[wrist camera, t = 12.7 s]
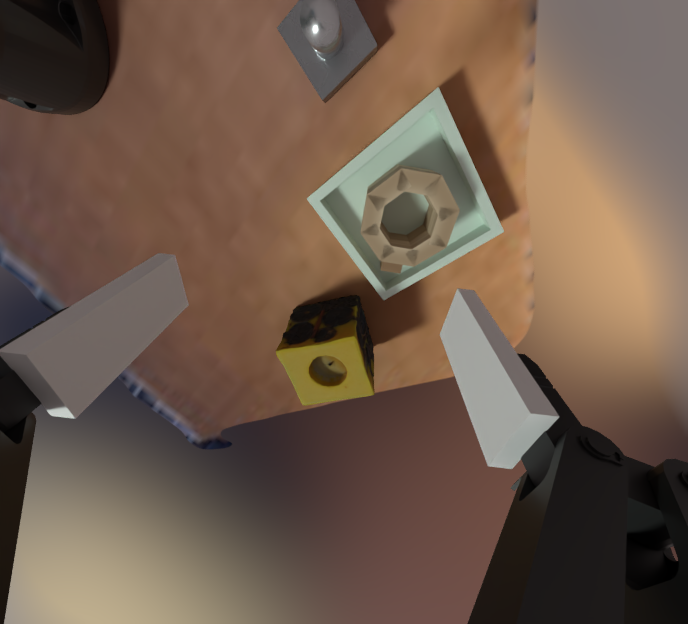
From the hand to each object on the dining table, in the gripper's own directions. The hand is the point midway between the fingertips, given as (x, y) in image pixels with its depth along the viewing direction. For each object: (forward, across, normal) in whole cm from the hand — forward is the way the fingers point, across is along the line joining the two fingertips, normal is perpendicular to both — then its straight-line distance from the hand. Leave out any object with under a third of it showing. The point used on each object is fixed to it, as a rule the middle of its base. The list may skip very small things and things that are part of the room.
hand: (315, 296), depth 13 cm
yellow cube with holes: (+22, 0, -18) cm, 29 cm away
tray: (+22, +7, 0) cm, 23 cm away
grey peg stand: (+22, -2, +13) cm, 26 cm away
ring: (+21, +7, -1) cm, 22 cm away
